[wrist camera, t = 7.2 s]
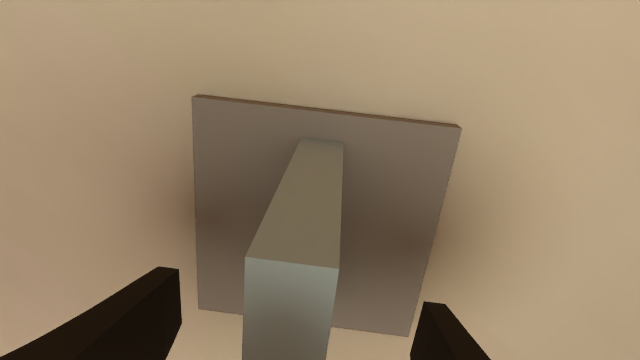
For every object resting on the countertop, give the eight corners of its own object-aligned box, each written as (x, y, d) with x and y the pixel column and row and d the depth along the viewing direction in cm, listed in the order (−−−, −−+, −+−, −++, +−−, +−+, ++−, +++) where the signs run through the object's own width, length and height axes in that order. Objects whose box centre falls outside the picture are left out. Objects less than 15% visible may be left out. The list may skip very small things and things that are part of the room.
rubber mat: (203, 300, 17) (198, 308, 17) (197, 94, 14) (191, 96, 13) (406, 327, 17) (408, 337, 17) (457, 124, 13) (462, 128, 13)
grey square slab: (287, 297, 16) (237, 514, 9) (301, 136, 13) (244, 256, 6) (321, 302, 16) (300, 523, 9) (343, 142, 13) (339, 269, 6)
